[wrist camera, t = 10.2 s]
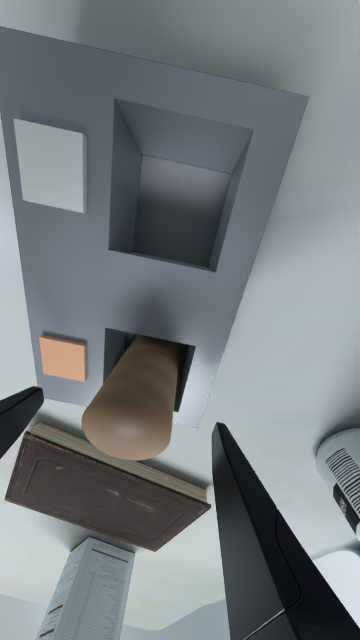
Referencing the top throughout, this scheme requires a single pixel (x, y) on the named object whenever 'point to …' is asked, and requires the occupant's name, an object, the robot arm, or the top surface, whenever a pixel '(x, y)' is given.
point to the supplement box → (90, 594)
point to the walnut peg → (136, 401)
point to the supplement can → (343, 472)
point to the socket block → (130, 205)
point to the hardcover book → (101, 490)
